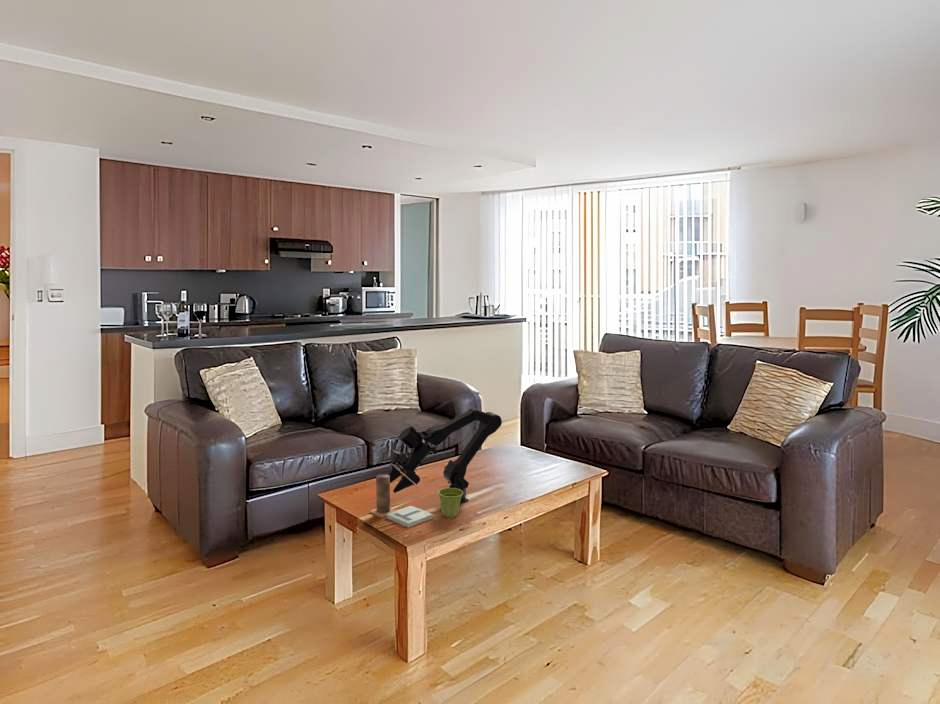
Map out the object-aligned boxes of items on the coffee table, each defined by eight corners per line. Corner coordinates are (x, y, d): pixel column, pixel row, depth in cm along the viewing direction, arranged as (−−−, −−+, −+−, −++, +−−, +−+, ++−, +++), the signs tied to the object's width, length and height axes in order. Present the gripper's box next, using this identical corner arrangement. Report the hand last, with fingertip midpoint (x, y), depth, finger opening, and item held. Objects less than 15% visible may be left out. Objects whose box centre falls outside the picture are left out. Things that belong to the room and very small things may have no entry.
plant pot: (462, 509, 242) (463, 487, 241) (463, 519, 232) (463, 496, 231) (438, 509, 241) (438, 487, 240) (437, 519, 232) (437, 496, 231)
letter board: (411, 509, 241) (411, 505, 241) (433, 518, 233) (433, 514, 233) (386, 518, 232) (386, 514, 232) (408, 527, 224) (408, 523, 224)
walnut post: (387, 507, 241) (387, 473, 239) (391, 511, 236) (391, 477, 235) (374, 509, 239) (374, 475, 237) (378, 513, 234) (378, 479, 233)
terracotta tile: (384, 507, 243) (384, 505, 242) (396, 512, 238) (396, 510, 238) (369, 512, 237) (369, 510, 237) (381, 517, 233) (381, 515, 233)
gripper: (394, 436, 246) (367, 468, 243) (411, 449, 229) (382, 483, 226) (413, 454, 251) (387, 485, 247) (432, 467, 234) (403, 501, 231)
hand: (389, 488), depth 238 cm, fingers open, 9 cm apart
